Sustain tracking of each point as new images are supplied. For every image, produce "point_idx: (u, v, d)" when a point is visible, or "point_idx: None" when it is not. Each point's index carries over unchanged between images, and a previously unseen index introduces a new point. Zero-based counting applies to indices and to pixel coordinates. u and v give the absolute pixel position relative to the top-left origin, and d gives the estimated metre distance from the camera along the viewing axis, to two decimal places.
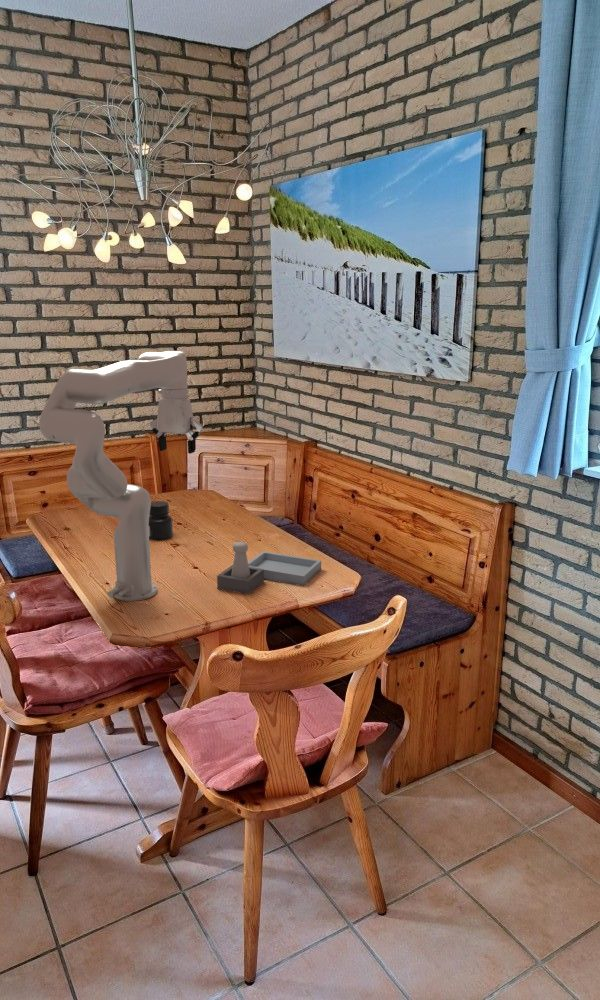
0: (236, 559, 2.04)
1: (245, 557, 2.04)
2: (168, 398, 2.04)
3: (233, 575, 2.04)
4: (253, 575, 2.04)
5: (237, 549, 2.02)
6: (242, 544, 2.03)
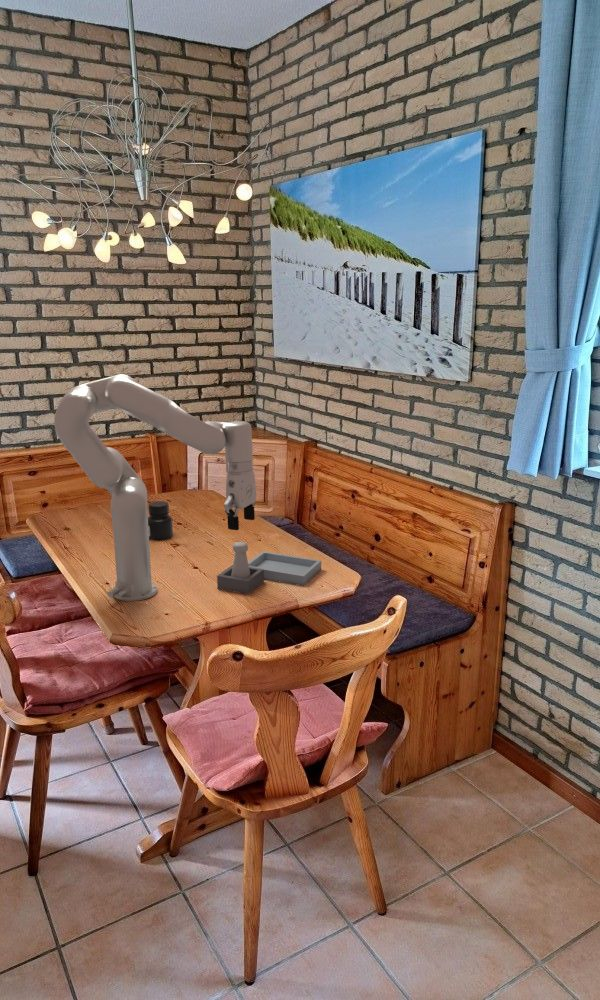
0: (236, 559, 2.04)
1: (245, 557, 2.04)
2: (251, 469, 1.96)
3: (233, 575, 2.04)
4: (253, 575, 2.04)
5: (237, 549, 2.02)
6: (242, 544, 2.03)
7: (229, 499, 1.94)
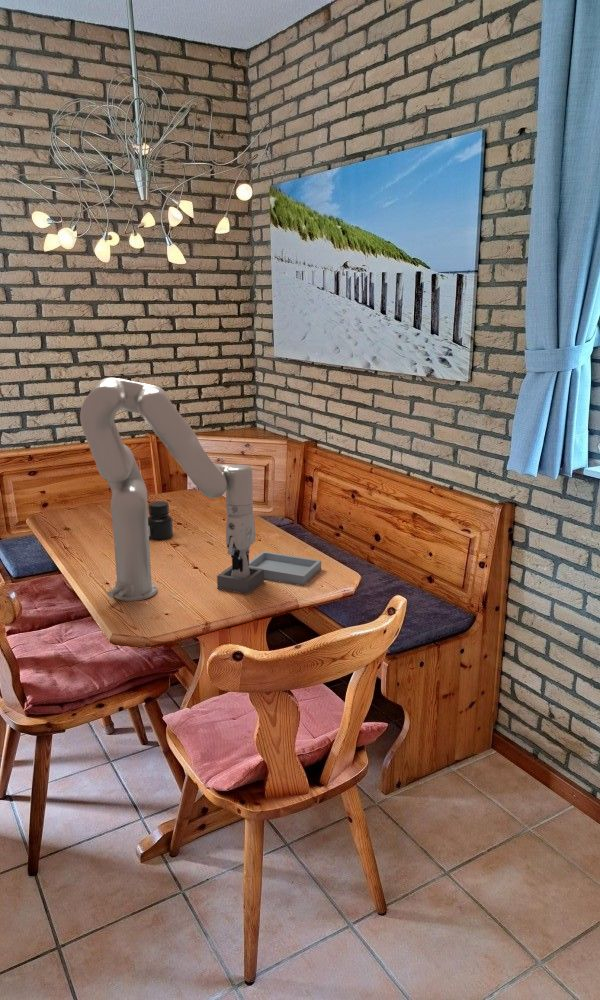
0: None
1: (245, 557, 2.04)
2: (251, 512, 2.00)
3: (233, 575, 2.04)
4: (253, 575, 2.04)
5: None
6: None
7: (231, 546, 1.98)
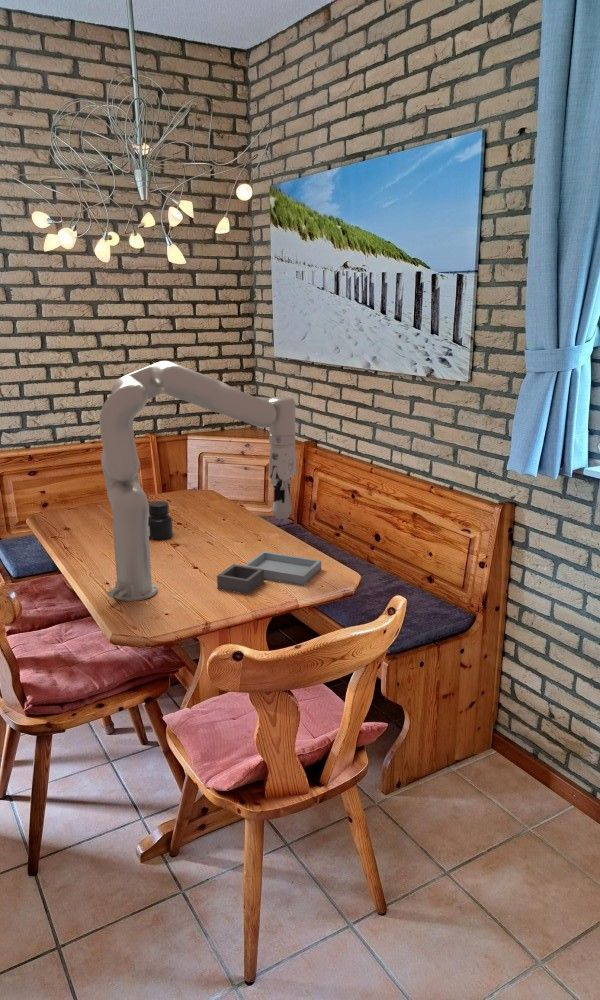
0: None
1: (287, 489, 2.09)
2: (293, 443, 2.04)
3: (275, 506, 2.09)
4: (253, 575, 2.04)
5: None
6: None
7: (274, 476, 2.03)
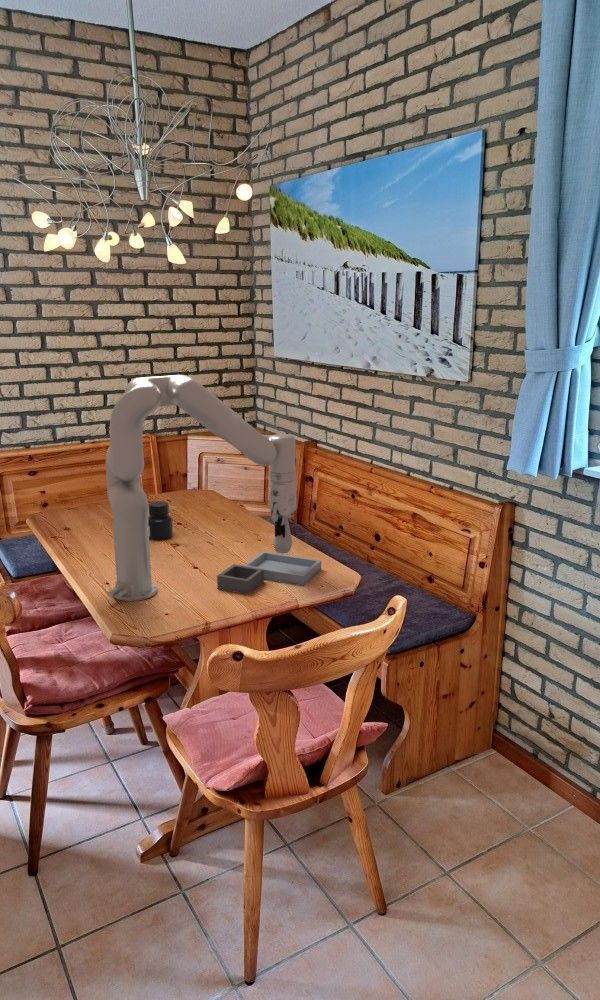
0: None
1: (287, 524, 2.12)
2: (293, 480, 2.07)
3: (276, 541, 2.12)
4: (253, 575, 2.04)
5: None
6: None
7: (275, 512, 2.06)
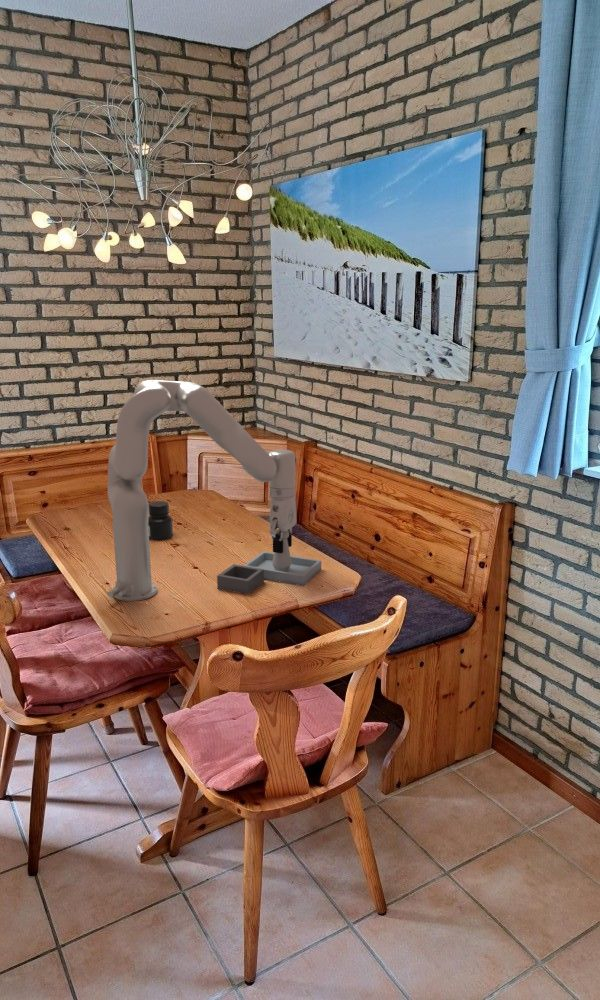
0: None
1: (286, 543, 2.13)
2: (293, 495, 2.09)
3: (275, 560, 2.14)
4: (253, 575, 2.04)
5: None
6: None
7: (274, 526, 2.07)
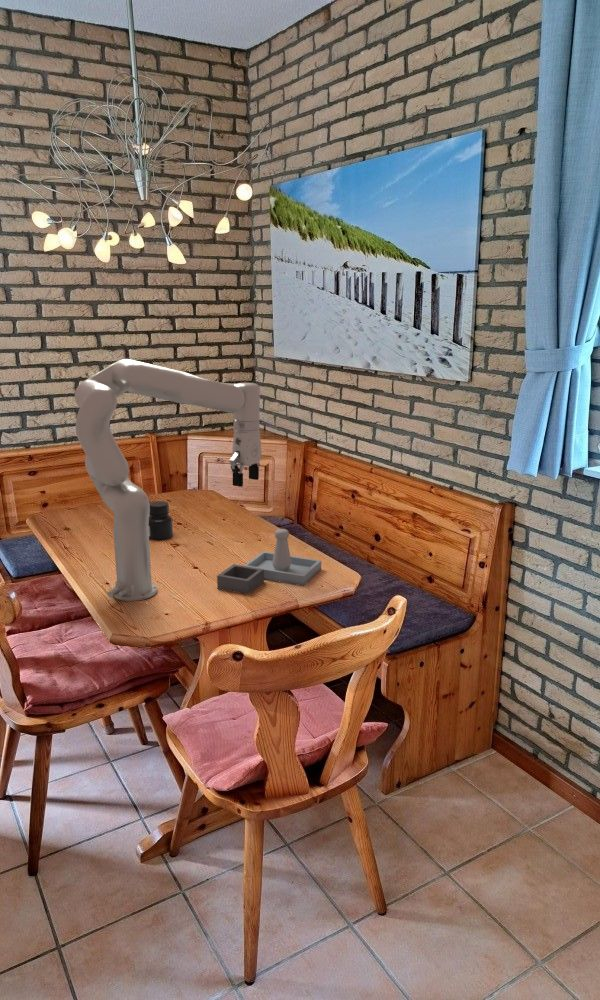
0: (277, 545, 2.13)
1: (286, 543, 2.13)
2: (257, 429, 2.06)
3: (275, 560, 2.14)
4: (253, 575, 2.04)
5: (279, 535, 2.11)
6: (284, 531, 2.12)
7: (235, 456, 2.03)
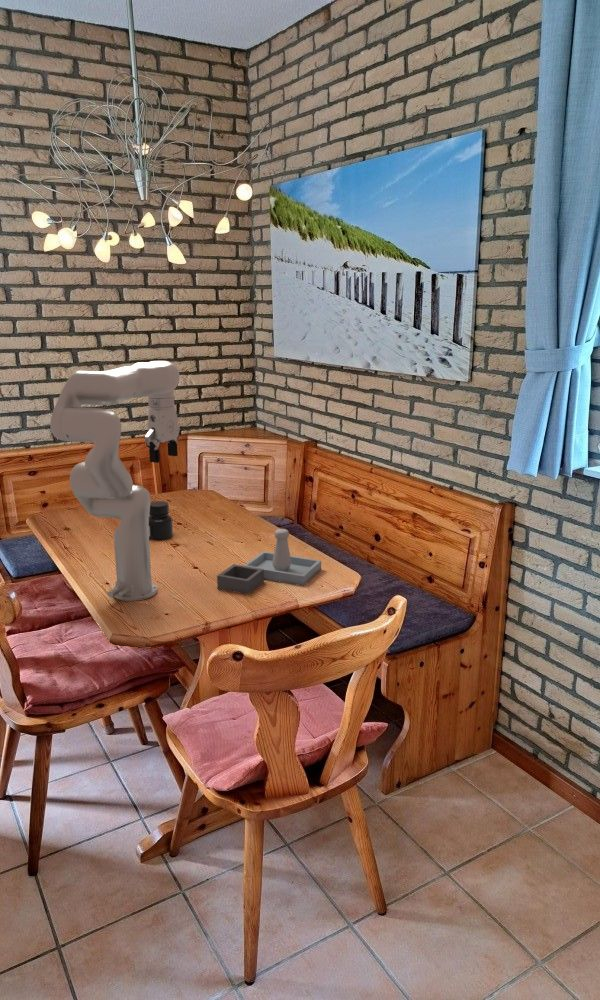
0: (277, 545, 2.13)
1: (286, 543, 2.13)
2: (172, 406, 2.10)
3: (275, 560, 2.14)
4: (253, 575, 2.04)
5: (279, 535, 2.11)
6: (284, 531, 2.12)
7: (150, 432, 2.08)
